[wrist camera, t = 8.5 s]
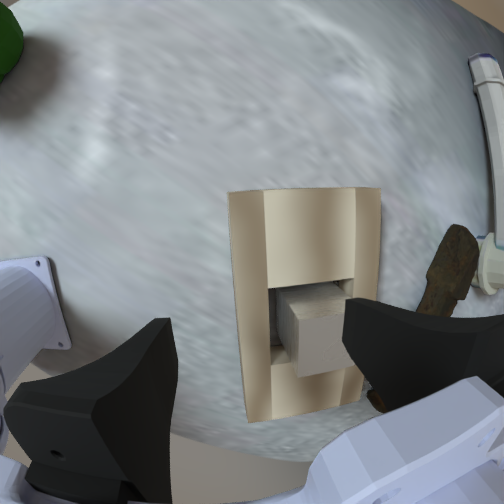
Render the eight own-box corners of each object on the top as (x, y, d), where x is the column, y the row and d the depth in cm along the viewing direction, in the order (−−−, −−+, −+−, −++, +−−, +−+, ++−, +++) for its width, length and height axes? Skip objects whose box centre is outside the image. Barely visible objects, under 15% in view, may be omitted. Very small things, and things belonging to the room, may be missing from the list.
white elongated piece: (506, 64, 15) (529, 298, 18) (470, 80, 22) (487, 287, 24) (481, 45, 15) (509, 306, 17) (443, 66, 21) (462, 292, 24)
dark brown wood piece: (387, 394, 26) (407, 419, 22) (360, 393, 25) (381, 422, 21) (463, 232, 23) (496, 242, 18) (441, 218, 22) (477, 227, 18)
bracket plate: (244, 403, 23) (248, 423, 21) (226, 192, 19) (228, 193, 16) (348, 384, 24) (359, 400, 22) (362, 187, 20) (380, 188, 18)
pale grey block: (276, 331, 22) (297, 377, 16) (275, 283, 21) (298, 320, 15) (325, 324, 22) (357, 364, 16) (326, 277, 21) (364, 309, 15)
